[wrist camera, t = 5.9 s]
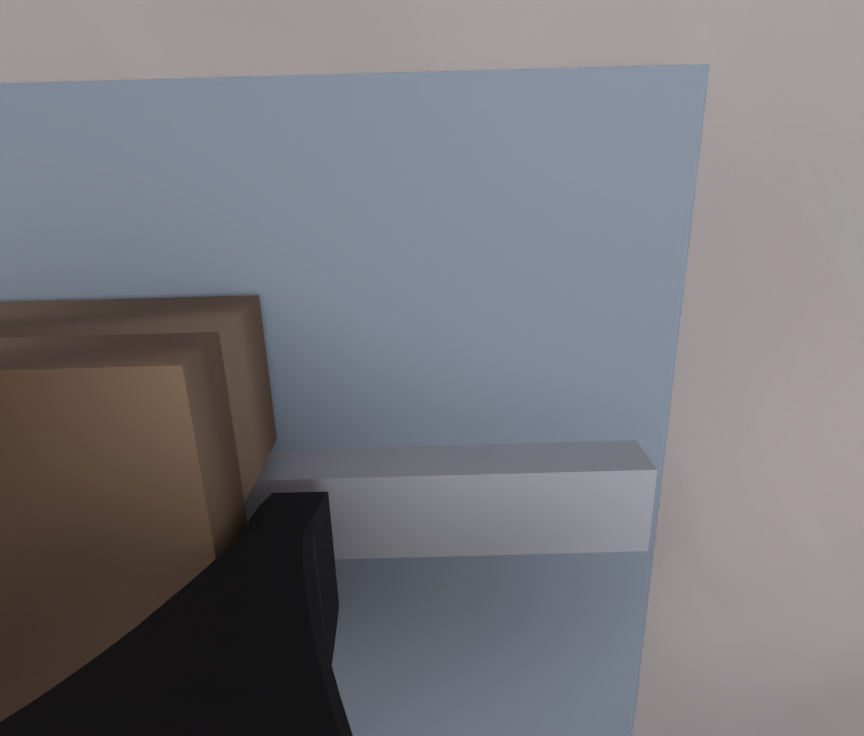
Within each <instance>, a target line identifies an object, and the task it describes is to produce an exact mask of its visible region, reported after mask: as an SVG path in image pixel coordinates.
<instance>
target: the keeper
mask: <svg viewBox="0 0 864 736" xmlns="http://www.w3.org/2000/svg"><path fill="white" fill-rule="evenodd" d="M276 440H277V436H276V428H275V420H274V412H273V404H272V396H271V388H270V380H269V372H268V364H267V356H266V348H265V340H264V332H263V324H262V316H261V307H260V299H259V295H254V296H218V297H181V298H144V299H107V300H70V301H33V302H0V722H1V721H2V720H4V719H5V718H7V717H9V716H10V715H12V714H13V713H15V712H17V711H18V710H20V709H21V708H23V707H25V706H26V705H28V704H29V703H31V702H32V701H34V700H35V699H37V698H38V697H40V696H41V695H43V694H44V693H46V692H47V691H49V690H50V689H52V688H53V687H54V686H56V685H57V684H59V683H60V682H61V681H63V680H64V679H66V678H67V677H69V676H70V675H71V674H73V673H74V672H76V671H77V670H78V669H80V668H81V667H83V666H84V665H86V664H87V663H88V662H90V661H91V660H93V659H94V658H95V657H97V656H98V655H99V654H101V653H102V652H103V651H105V650H106V649H107V648H109V647H110V646H112V645H113V644H114V643H116V642H117V641H118V640H119V639H121V638H122V637H123V636H125V635H126V634H127V633H129V632H130V631H131V630H132V629H134V628H135V627H136V626H137V625H139V624H140V623H141V622H142V621H143V620H145V619H146V618H147V617H148V616H149V615H151V614H152V613H153V612H154V611H155V610H157V609H158V608H159V607H160V606H161V605H163V604H164V603H165V602H166V601H167V600H169V599H170V598H171V597H172V596H173V595H175V594H176V593H177V592H178V591H179V590H181V589H182V588H183V587H184V586H185V585H187V584H188V583H189V582H190V581H191V580H193V579H194V578H195V577H196V576H197V575H198V574H200V573H201V572H202V571H203V570H204V569H205V568H206V567H207V566H208V565H209V564H211V563H212V562H213V561H214V560H215V559H216V558H217V557H218V556H219V555H220V554H221V553H222V552H224V551H225V550H226V549H227V548H228V547H229V546H230V545H231V544H232V543H233V542H234V541H235V540H237V539H238V538H239V537H240V536H241V535H242V534H243V532H244V529H245V527H246V525H247V523H248V522H247V515H246V509H245V502H246V500H247V498H248V496H249V494H250V492H251V490H252V488H253V486H254V484H255V482H256V480H257V478H258V476H259V474H260V472H261V470H262V468H263V466H264V464H265V462H266V460H267V458H268V456H269V454H270V452H271V450H272V448H273V446H274V444H275V442H276Z"/></svg>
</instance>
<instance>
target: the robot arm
mask: <svg viewBox="0 0 864 736" xmlns="http://www.w3.org/2000/svg"><path fill="white" fill-rule="evenodd" d="M338 612H339V599H338V589H337V578H336V568H335V557H334V546H333V536H332V525H331V515H330V504H329V494H328V491H326V492H285V493H272V494H271V495H270V496H269V497H268V498H267V499H266V500H265V501H264V502H263V503H262V504H261V505H260V506H259V507H258V508H257V510H256V511H255V512H254V513H253V515H252V516H251V517H250V519H249V521H248V523H247V525H246V527H245V529H244V532H243V534H242V535H241V536H240V537H239V538H238V539H237V540H235V541H234V542H233V543H232V544H231V545H230V546H229V547H228V548H227V549H226V550H225V551H224V552H222V553H221V554H220V555H219V556H218V557H217V558H216V559H215V560H214V561H213V562H212V563H211V564H209V565H208V566H207V567H206V568H205V569H204V570H203V571H202V572H201V573H200V574H198V575H197V576H196V577H195V578H194V579H193V580H191V581H190V582H189V583H188V584H187V585H185V586H184V587H183V588H182V589H181V590H179V591H178V592H177V593H176V594H175V595H173V596H172V597H171V598H170V599H169V600H167V601H166V602H165V603H164V604H163V605H161V606H160V607H159V608H158V609H157V610H155V611H154V612H153V613H152V614H151V615H149V616H148V617H147V618H146V619H145V620H143V621H142V622H141V623H140V624H139V625H137V626H136V627H135V628H134V629H132V630H131V631H130V632H129V633H127V634H126V635H125V636H123V637H122V638H121V639H119V640H118V641H117V642H116V643H114V644H113V645H112V646H110V647H109V648H107V649H106V650H105V651H103V652H102V653H101V654H99V655H98V656H97V657H95V658H94V659H93V660H91V661H90V662H88V663H87V664H86V665H84V666H83V667H81V668H80V669H78V670H77V671H76V672H74V673H73V674H71V675H70V676H69V677H67V678H66V679H64V680H63V681H61V682H60V683H59V684H57V685H56V686H54V687H53V688H52V689H50V690H49V691H47V692H46V693H44V694H43V695H41V696H40V697H38V698H37V699H35V700H34V701H32V702H31V703H29V704H28V705H26V706H25V707H23V708H21V709H20V710H18V711H17V712H15V713H13V714H12V715H10V716H9V717H7V718H5V719H4V720H2V721H1V722H0V736H353V734H352V731H351V728H350V725H349V722H348V719H347V716H346V713H345V709H344V706H343V703H342V700H341V697H340V693H339V690H338V686H337V683H336V679H335V675H334V672H333V668H332V661H333V653H334V646H335V637H336V629H337V620H338Z"/></svg>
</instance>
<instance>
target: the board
mask: <svg viewBox="0 0 864 736" xmlns="http://www.w3.org/2000/svg"><path fill="white" fill-rule="evenodd" d="M709 66H710V64H698V65H661V66H625V67H589V68H553V69H516V70H480V71H444V72H407V73H371V74H335V75H298V76H262V77H226V78H190V79H153V80H117V81H81V82H44V83H8V84H0V302H33V301H70V300H107V299H144V298H181V297H218V296H254V295H259V299H260V307H261V316H262V324H263V332H264V340H265V348H266V356H267V364H268V372H269V380H270V388H271V396H272V404H273V412H274V420H275V428H276V436H277V440H276V442H275V444H274V446H273V448H272V450H271V452H270V454H269V456H268V458H267V460H266V462H265V464H264V466H263V468H262V470H261V472H260V474H259V476H258V478H257V480H256V482H255V484H254V486H253V488H252V490H251V492H250V494H249V496H248V498H247V500H246V502H245V509H246V515H247V522H248V521H249V519H250V517H251V516H252V515H253V513H254V512H255V511H256V510H257V508H258V507H259V506H260V505H261V504H262V503H263V502H264V501H265V500H266V499H267V498H268V497H269V496H270V495H271V494H272V493H285V492H326V491H328V494H329V504H330V515H331V525H332V536H333V546H334V557H335V568H336V578H337V589H338V599H339V612H338V620H337V629H336V637H335V646H334V653H333V661H332V668H333V672H334V675H335V679H336V683H337V686H338V690H339V693H340V697H341V700H342V703H343V706H344V709H345V713H346V716H347V719H348V722H349V725H350V728H351V731H352V734H353V736H632V730H633V722H634V713H635V705H636V696H637V687H638V679H639V670H640V661H641V653H642V644H643V636H644V627H645V618H646V610H647V601H648V592H649V584H650V575H651V567H652V558H653V549H654V541H655V532H656V523H657V515H658V506H659V498H660V489H661V480H662V472H663V463H664V454H665V446H666V437H667V429H668V420H669V411H670V403H671V394H672V385H673V377H674V368H675V360H676V351H677V342H678V334H679V325H680V316H681V308H682V299H683V291H684V282H685V273H686V265H687V256H688V247H689V239H690V230H691V222H692V213H693V204H694V196H695V187H696V178H697V170H698V161H699V153H700V144H701V135H702V127H703V118H704V109H705V101H706V92H707V84H708V75H709Z"/></svg>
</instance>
